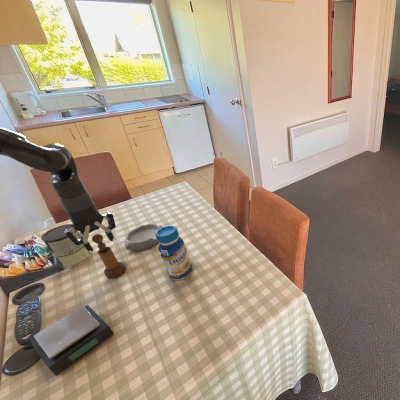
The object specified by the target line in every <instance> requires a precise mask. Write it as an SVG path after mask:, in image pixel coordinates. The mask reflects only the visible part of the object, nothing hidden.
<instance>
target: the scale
mask: <svg viewBox="0 0 400 400" xmlns="http://www.w3.org/2000/svg"><path fill="white" fill-rule="evenodd" d="M83 307H84V308H85V309H86V310H87V311H88V312H89V313H90V314H91V315H92V316H93V317H94V318H95V319H96V320H97V321H98V322H99V323H100V324H101V325H100V326H98V327H97V328H96V329H94V330H93V331H91V332H90V333H88V334H87V335H85V336H84V337H82V338H81V339H80V340H78V341H77V342H75V343H74V344H72V345H71V346H69V347H68V348H67V349H65V350H64V351H62V352H61V353H59V354H58V355H56V356H55V357H53V358H52V359H50V358H49V357H48V356H47V354H46V353H45V351H44V350H43V349H42V347H41V346H40V344H39V343H38V342H37V340H36V339H35V337H33V338H31V339H30V340H29V342H30V344H31V345H32V347H33V348H34V350H35V351H36V353H37V354H38V355H39V357H40V358H41V359H42V361H43V362H44V364H45V365H46V367H47V368H48V369H49V371H51V372H52V373H53V374H54V375H55V377H57V376H58V375H60V374H61V373H63V371H65V370H66V369H68V368H69V367H70V366H72V365H73V364H75V363H76V362H77V361H79V360H80V359H81V358H83V357H84V356H86V355H87V354H88V353H89V352H91V351H92V350H93V349H95V348H96V347H98V346H99V345H100V344H102V343H103V342H105V341H106V340H108V339H109V338H110V337H112V336H113V335H114V334H115V332H114V331H113V330H112V328H111V327H110V325H109V324H108V323H107V322H106V321H105V320H104V319H103V318H102V317H101V316H100V315H99V314H98V313H97V312H96V311H95V310H94V309H93V308H92V307H91V306H90V305H89V304H86V305H84V306H83Z"/></svg>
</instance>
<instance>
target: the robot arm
mask: <svg viewBox="0 0 400 400" xmlns="http://www.w3.org/2000/svg"><path fill="white" fill-rule="evenodd" d="M0 156H3V157H7V158H11V159H12V160H15V161H16V162H18V163H20V164H23V165H24V166H27V167H29V168H32V169H33V170H36V171H39V172H43V173H48V174H50V176H51V181H50V184H51V187H52V189H53V190H54V192H55V194H56V196H57V197H58V199H59V202H60V204H61V206H62V208H63V210H64V211H65V214H67V216H68V218H69V220H70V222H71V224H73V226H72V228H70V229H68V230H64V231H63V233H64V234H65V235H66V236H67V237H68V238H69V239H70V240H71V241H72V242H73V243H75V244H76V245H80V244H83V245H84V247H85V249H87V250H88V251H91V252H93V251H94V248H93V246H92V245H91V243H90V241H89V236H90V234H91V233H93V232H94V231H97V230H100V229H101V230H103V231H104V234H105V236H106V237H107V240H109V241H110V242H112V241H113V242H114V239H115V236H114V234H113V232H112V231H113V230H114V229H116V227H117V225H116V222H115V217H114V214H113V213H112V212H109V211H107V212H105V213H104V214H101V213H100V211H99V209H98V207H97V205H96V203H95V201H94V199H93V198H92V196H91V193H90V192H88V190H87V188H86V186H85V184H84V182H83V181H82V178H81V177H80V175H79V170H78V166H77V164H76V161H75V158H74V156H73V154H72V152H71V151H70V150H69V149H68V148H67V147H66V146H64V145H61V144H59V143H47V144H44V145H43V146H39V145H37V144H35V143H32V142H31V141H29V138H27V136H25V135H23V134H21V133H18V132H15V131H14V130H13V131H12V130H10V129H7V128H4V127H1V126H0ZM104 219H105V220H107V224H108V226H105V225H104V224H103V221H104ZM75 230H77V231H79V233H80V239H79V240H77V239H76V238H75V237H74V234H75V232H74V231H75Z"/></svg>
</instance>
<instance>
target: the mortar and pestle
mask: <svg viewBox="0 0 400 400" xmlns="http://www.w3.org/2000/svg"><path fill="white" fill-rule="evenodd" d="M91 240H92V242H93V243H95V244H97V248H98V250H97V255H98V256H99V258H100V260H101V262H102V264H104V267H105V268H104V270H103V274H104V275H105V277H106V278H107V279H116V278H118V277H121V276H122V275H123V274H124V273H126V270H127V267H126V265H125V263H124V262H122V261H118V259H117V257H116V256H115V253H114V252H113V250H112V248H111V247H110V246H107V245H106V243H105V242H103V241H104V235H102V234H101V233H95V234H93V235H92V237H91Z"/></svg>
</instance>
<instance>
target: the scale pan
mask: <svg viewBox="0 0 400 400" xmlns="http://www.w3.org/2000/svg"><path fill="white" fill-rule="evenodd" d="M84 307H85V306H83V305H81V306H79V307H78V308H76V309H75V310H72V311H71V312H69V313H68V314H66V315H65V316H63V317H61V318H60V319H58V320H57V321H55V322H53V323H52V324H50V325H48V326H47V327H46V328H45V327H44V328H43V329H42V330H41V331H39V332H37V333H36V334H34V335H33V338H35V339H36V340H37V342H38V343H39V344H40V346H41V347H42V349H43V350H44V351H45V353H46V354H47V356H48V357H49V358H50V359H52V358H53V357H55V356H56V355H58V354H59V353H61V352H62V351H64V350H65V349H67V348H68V347H69V346H71V345H72V344H74V343H75V342H77V341H78V340H80V339H81V338H82V337H84V336H85V335H87V334H88V333H90V332H91V331H93V330H94V329H96V328H97V327H98V326H100V325H101V324H100V323H99V322H98V321H97V320H96V319H95V318H94V317H93V316H92V315H91V314H90V313H89V312H88V311H87V310H86V309H85V308H84Z"/></svg>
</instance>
